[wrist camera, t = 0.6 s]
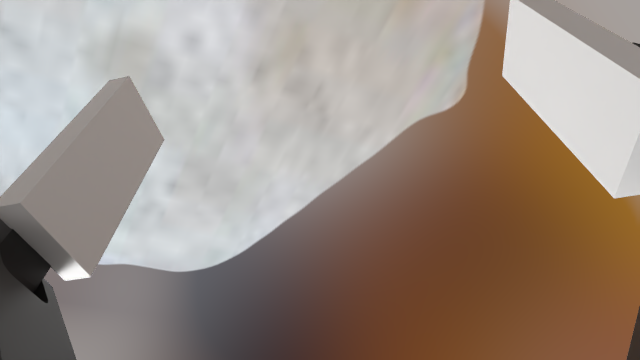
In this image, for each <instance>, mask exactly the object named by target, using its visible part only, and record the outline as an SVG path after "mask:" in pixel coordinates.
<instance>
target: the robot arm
mask: <svg viewBox="0 0 640 360" xmlns="http://www.w3.org/2000/svg"><path fill="white" fill-rule="evenodd" d="M503 64H504V65H503V74H502V75H503V77H504V78H505V79H506V80H507V81H508V82H509V84H510V85H511V86H512V87H513V88H514V89H515V90H516V91H517V92H518V93H519V95H521V97H522V98H523V99H524V100H525V101H526V102H527V103H528V104H529V106H530V107H531V108H532V109H533V110H534V111H535V112H536V113H537V114H538V115H539V116H540V118H541V119H543V121H544V122H545V123H546V124H547V125H548V126H549V127H550V129H551V130H552V131H553V132H554V133H555V134H556V135H557V136H558V137H559V138H560V139H561V141H562V142H563V143H564V144H565V145H566V146H567V147H568V148H569V149H570V150H571V152H573V154H574V155H575V156H576V157H577V158H578V159H579V160H580V161H581V162H582V163H583V165H584V166H585V167H586V168H587V169H588V170H589V171H590V172H591V173H592V175H593V176H594V177H595V178H596V179H597V180H598V181H599V182H600V183H601V184H602V185H603V187H604V188H605V189H606V190H607V191H608V192H609V193H610V194H611V195H612V196H613V198H619V197H627V196H633V195H640V44H637V43H631V42H629V41H627V40H625V39H624V38H622V37H620V36H618V35H616V34H615V33H613V32H611V31H609V30H607V29H605V28H604V27H602V26H600V25H598V24H596V23H594V22H593V21H591V20H589V19H587V18H586V17H584V16H582V15H580V14H578V13H576V12H575V11H573V10H571V9H569V8H567V7H565V6H564V5H562V4H560V3H558V2H557V1H555V0H510V8H509V17H508V26H507V35H506V46H505V54H504V63H503ZM163 141H164V138H163V136H162V135H161V133H160V131H159V129H158V127H157V126H156V124H155V122H154V120H153V118H152V117H151V115H150V113H149V111H148V109H147V107H146V106H145V104H144V102H143V100H142V98H141V97H140V95H139V93H138V91H137V89H136V87H135V86H134V84H133V82H132V80H131V78H130V77H129V76H128V77H123V78H118V79H114V80H109V81H108V83H107V84H106V85H105V86H104V87H103V88H102V89H101V90H100V91H99V92H98V93H97V94H96V95H95V96H94V97H93V99H92V100H91V101H90V102H89V103H88V104H87V105H86V106H85V107H84V108H83V109H82V110H81V111H80V112H79V113H78V115H77V116H76V117H75V118H74V119H73V120H72V121H71V122H70V123H69V124H68V125H67V126H66V127H65V128H64V130H63V131H62V132H61V133H60V134H59V135H58V136H57V137H56V138H55V139H54V140H53V141H52V142H51V143H50V144H49V146H48V147H47V148H46V149H45V150H44V151H43V152H42V153H41V154H40V155H39V156H38V157H37V158H36V159H35V160H34V162H33V163H32V164H31V165H30V166H29V167H28V168H27V169H26V170H25V171H24V172H23V173H22V174H21V175H20V176H19V178H18V179H17V180H16V181H15V182H14V183H13V184H12V185H11V186H10V187H9V188H8V189H7V190H6V191H5V192H4V194H3V195H2V196H1V197H0V360H76V357H75V354H74V351H73V348H72V345H71V342H70V339H69V336H68V333H67V330H66V327H65V324H64V321H63V318H62V315H61V312H60V309H59V306H58V302H57V299H56V296H55V293H54V291H53V287H52V286H51V285H50V284H49V283H48V282H47V281H46V280H45V279H44V276H45V275H46V273H47V272H48V270H49V269H50V267H51V268H52V269H53V270H54V271H56V273H58V275H59V276H61V277H62V278H63V279H64V280H65V281H66V280H67V281H68V280H74V279H80V278H87V277H91V276H92V274H93V272H94V270H95V269H96V267H97V265H98V263H99V261H100V259H101V257H102V255H103V254H104V252H105V250H106V248H107V246H108V244H109V242H110V240H111V239H112V237H113V235H114V233H115V231H116V229H117V227H118V225H119V224H120V222H121V220H122V218H123V216H124V214H125V212H126V210H127V209H128V207H129V205H130V203H131V201H132V199H133V197H134V195H135V194H136V192H137V190H138V188H139V186H140V184H141V182H142V181H143V179H144V177H145V175H146V173H147V171H148V169H149V167H150V166H151V164H152V162H153V160H154V158H155V156H156V154H157V152H158V151H159V149H160V147H161V145H162V143H163ZM627 360H640V307H639V311H638V315H637V319H636V323H635V328H634V331H633V336H632V340H631V344H630V348H629V352H628V356H627Z"/></svg>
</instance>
